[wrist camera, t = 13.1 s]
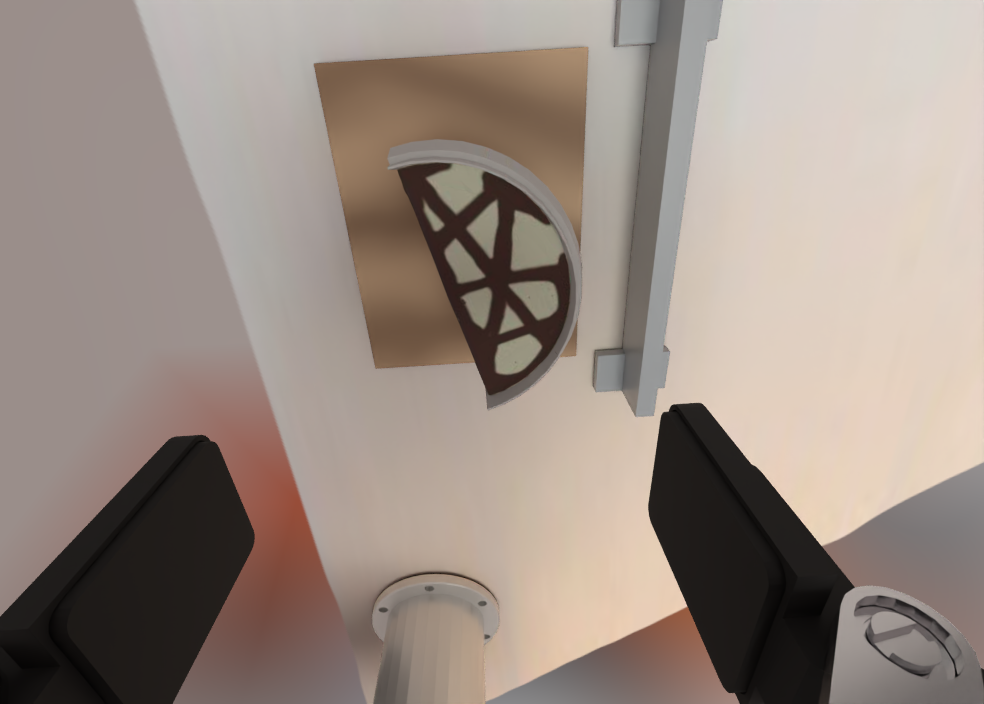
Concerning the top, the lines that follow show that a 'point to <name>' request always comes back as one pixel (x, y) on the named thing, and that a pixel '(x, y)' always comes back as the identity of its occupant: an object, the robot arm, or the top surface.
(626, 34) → the grey footed rail
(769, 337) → the top surface
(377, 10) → the top surface
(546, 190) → the food container
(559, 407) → the top surface
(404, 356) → the walnut board
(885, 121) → the top surface
